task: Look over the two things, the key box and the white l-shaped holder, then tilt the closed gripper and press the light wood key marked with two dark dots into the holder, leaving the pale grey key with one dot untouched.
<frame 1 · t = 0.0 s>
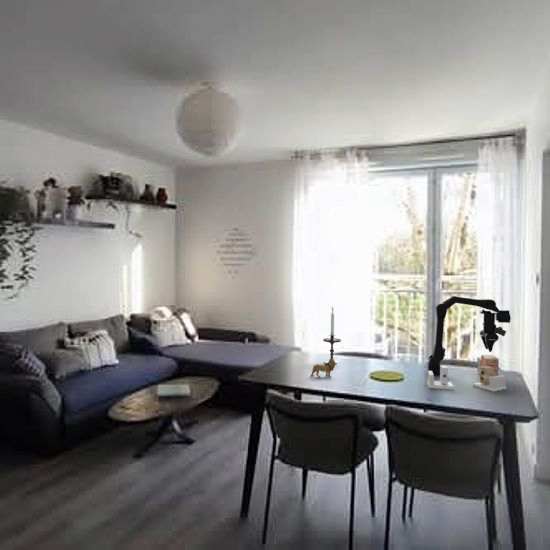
hand: (488, 350, 264), 15 cm above the table, tool pointing down, fingers open, 9 cm apart
white l-shaped holder: (486, 387, 241), on the table
lion figurine: (323, 376, 259), on the table
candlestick: (331, 362, 298), on the table
stack of blocks: (487, 377, 264), on the table
one dot key: (444, 374, 240), point 6 cm above the table, slide at 0.0 cm
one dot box: (443, 386, 241), on the table
two dot key: (486, 375, 241), point 6 cm above the table, slide at 0.0 cm
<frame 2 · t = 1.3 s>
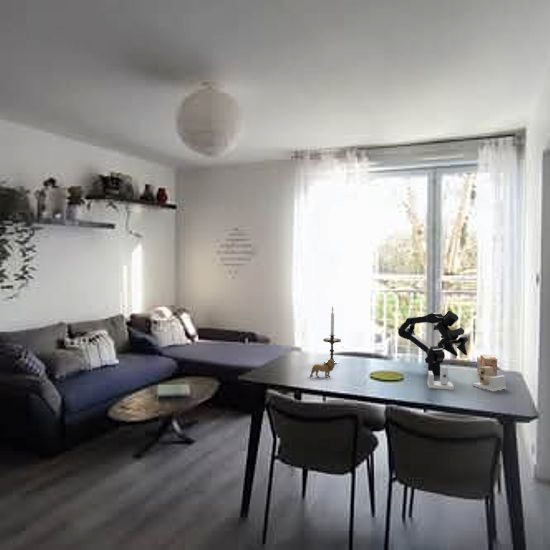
hand: (461, 355, 254), 13 cm above the table, tool tilted 45°, fingers open, 7 cm apart
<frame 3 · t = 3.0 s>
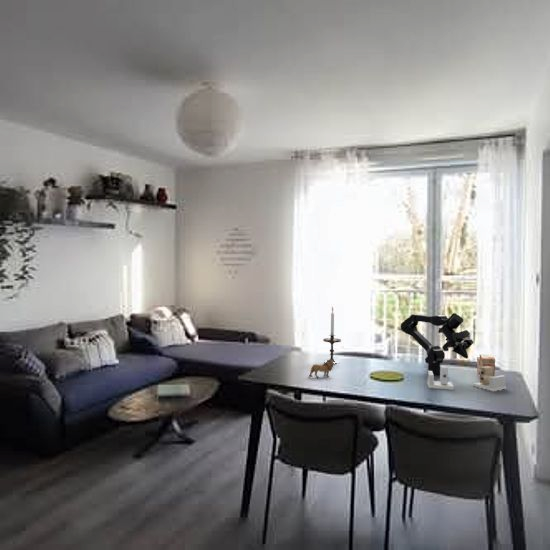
hand: (467, 358, 251), 13 cm above the table, tool tilted 45°, fingers closed
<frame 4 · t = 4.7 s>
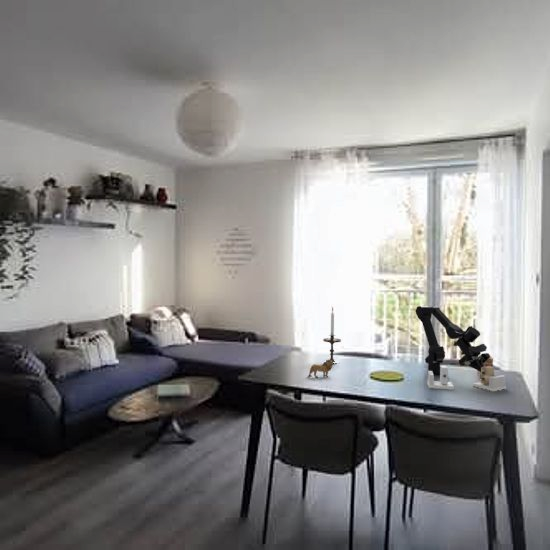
hand: (484, 373, 242), 7 cm above the table, tool tilted 45°, fingers closed, pressing on two dot key
two dot key: (487, 375, 241), point 6 cm above the table, slide at 0.6 cm, touching gripper
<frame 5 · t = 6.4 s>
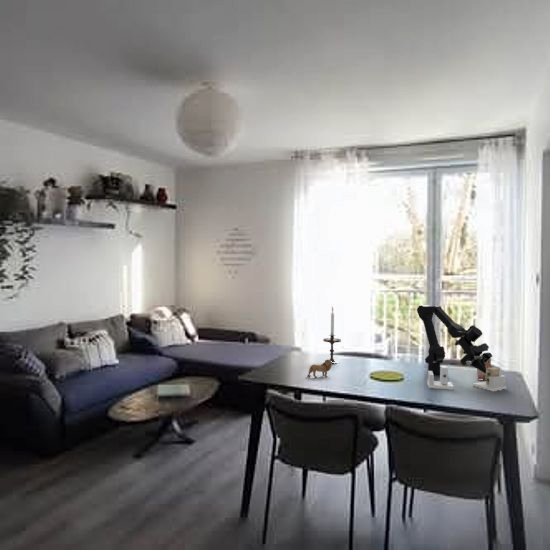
hand: (486, 372, 241), 7 cm above the table, tool tilted 45°, fingers closed
two dot key: (492, 376, 238), point 6 cm above the table, slide at 3.5 cm
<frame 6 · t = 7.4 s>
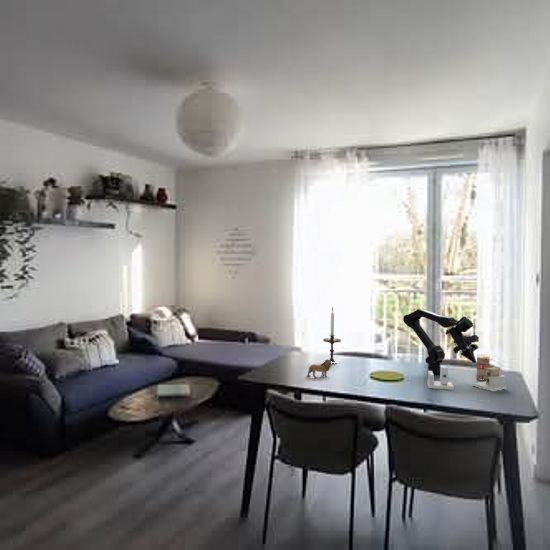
hand: (475, 362, 250), 10 cm above the table, tool tilted 40°, fingers closed
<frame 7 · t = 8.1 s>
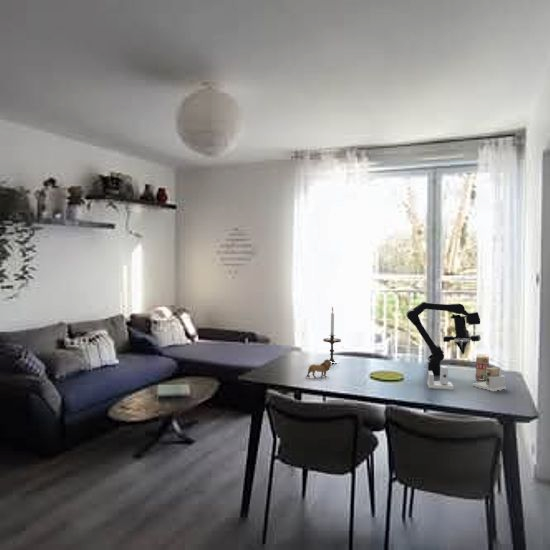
hand: (463, 353, 267), 12 cm above the table, tool pointing down, fingers closed
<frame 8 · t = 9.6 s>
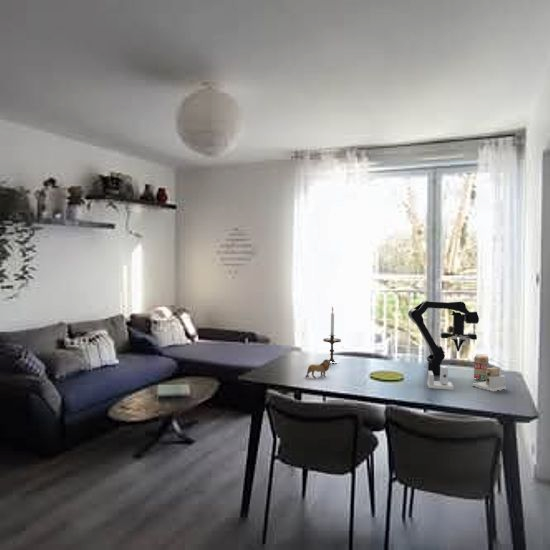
hand: (458, 351, 270), 13 cm above the table, tool pointing down, fingers closed
at the end: two dot key slide at 3.5 cm; one dot key slide at 0.0 cm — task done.
